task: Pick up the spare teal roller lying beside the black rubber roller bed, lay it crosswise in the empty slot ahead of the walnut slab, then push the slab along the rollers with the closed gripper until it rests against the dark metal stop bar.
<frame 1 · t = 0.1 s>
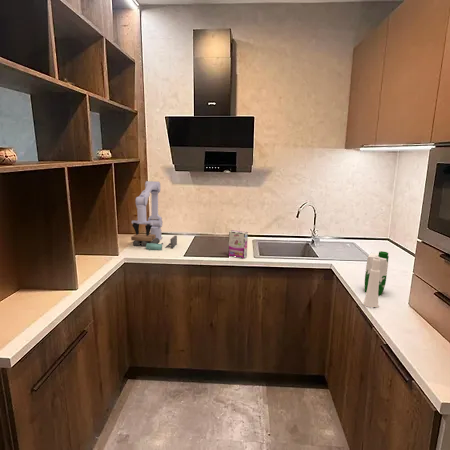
hand: (142, 234, 219), 10 cm above the worktop, fingers open, 7 cm apart
slab: (143, 239, 232), point 4 cm above the worktop, touching roller bed
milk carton: (373, 292, 159), on the worktop
cosmetic bottle: (370, 305, 144), on the worktop
stop bar: (173, 246, 231), on the worktop
roller bed: (147, 244, 233), on the worktop
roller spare: (154, 249, 222), on the worktop
candy bar box: (237, 256, 210), on the worktop
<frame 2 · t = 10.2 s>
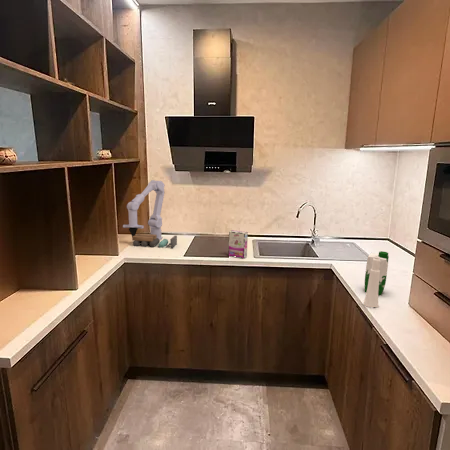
hand: (133, 238, 233), 4 cm above the worktop, fingers closed
slab: (144, 239, 232), point 4 cm above the worktop, touching gripper, roller bed
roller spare: (165, 245, 231), point 1 cm above the worktop, tilted 50°
everything else where it was.
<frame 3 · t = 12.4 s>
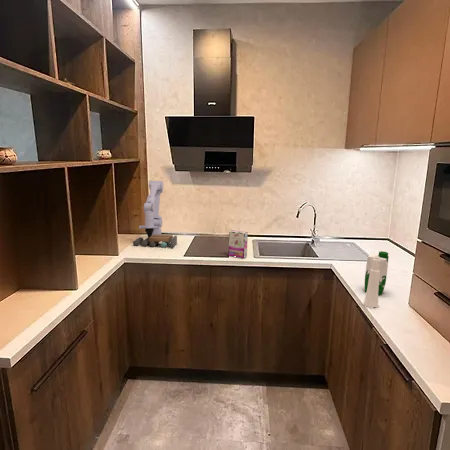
hand: (149, 238, 232), 4 cm above the worktop, fingers closed
slab: (161, 239, 231), point 4 cm above the worktop, touching gripper, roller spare
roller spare: (165, 245, 231), on the worktop, tilted 15°, touching roller bed, slab
everything else where it was.
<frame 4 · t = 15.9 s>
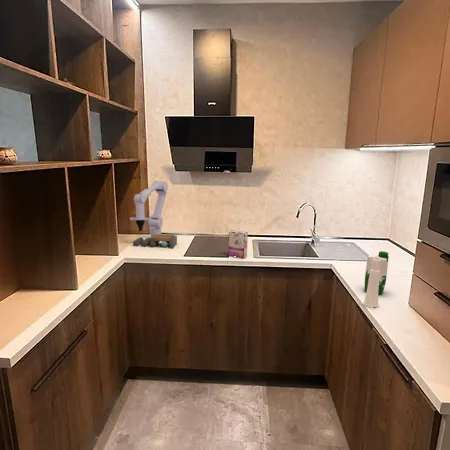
hand: (140, 230, 231), 10 cm above the worktop, fingers closed
slab: (162, 239, 231), point 4 cm above the worktop, touching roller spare
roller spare: (164, 244, 231), point 1 cm above the worktop, tilted 31°, touching roller bed, slab
everything else where it was.
at the end: slab 0.4 cm from the target spot, point 4.4 cm above the worktop; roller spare inside the target area under the slab (1.4 cm from its centre), point -3.7 cm above the slab's base; slab tilted 3° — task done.
